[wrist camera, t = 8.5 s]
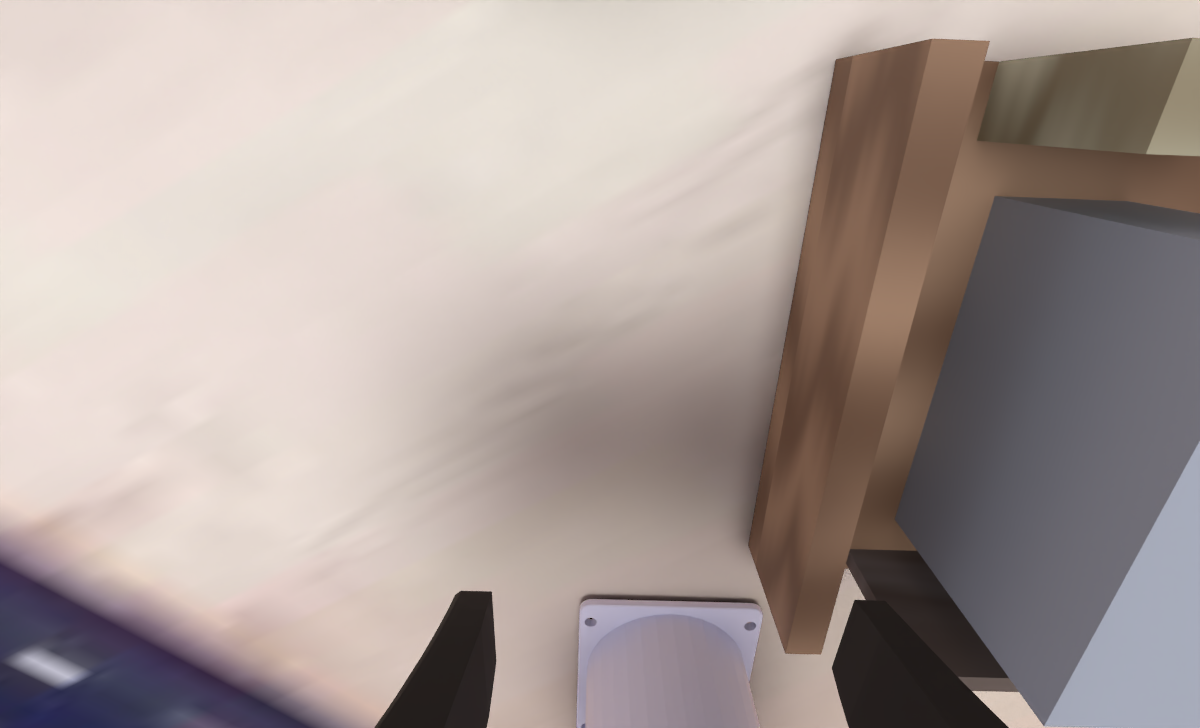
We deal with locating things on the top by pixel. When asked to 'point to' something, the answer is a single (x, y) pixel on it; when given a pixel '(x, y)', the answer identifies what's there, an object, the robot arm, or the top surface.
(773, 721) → the top surface
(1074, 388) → the grey rectangular block
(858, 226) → the shelf
